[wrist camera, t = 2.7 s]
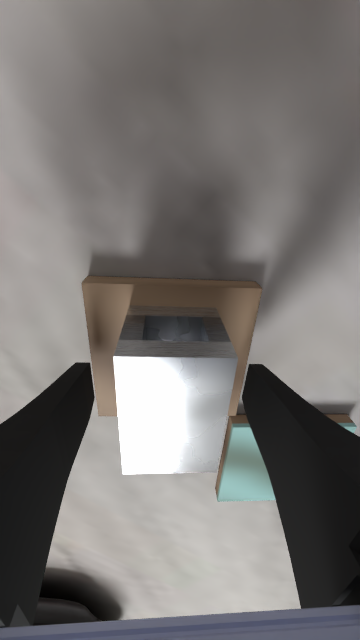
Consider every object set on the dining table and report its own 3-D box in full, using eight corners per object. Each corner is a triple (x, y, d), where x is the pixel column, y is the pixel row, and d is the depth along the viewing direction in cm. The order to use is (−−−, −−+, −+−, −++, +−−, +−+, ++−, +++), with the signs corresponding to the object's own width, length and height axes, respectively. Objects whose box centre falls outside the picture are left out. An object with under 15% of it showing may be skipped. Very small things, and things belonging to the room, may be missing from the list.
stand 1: (87, 275, 12) (81, 282, 11) (255, 281, 12) (262, 288, 12) (102, 403, 15) (98, 416, 15) (231, 403, 16) (235, 415, 15)
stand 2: (229, 414, 16) (233, 427, 16) (346, 414, 17) (356, 426, 16) (215, 487, 20) (217, 501, 19) (312, 485, 21) (319, 498, 20)
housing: (129, 305, 12) (113, 356, 8) (216, 307, 12) (238, 358, 8) (133, 403, 14) (122, 474, 11) (203, 403, 15) (216, 472, 11)
